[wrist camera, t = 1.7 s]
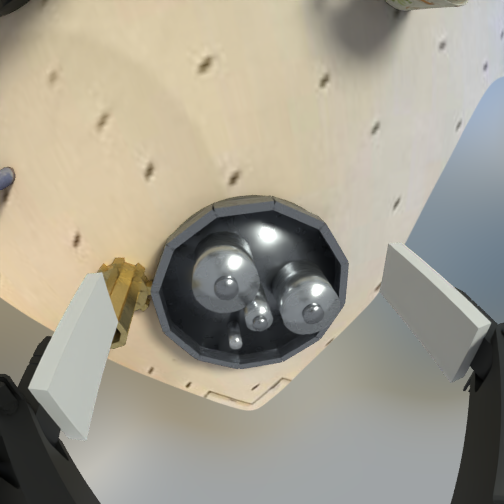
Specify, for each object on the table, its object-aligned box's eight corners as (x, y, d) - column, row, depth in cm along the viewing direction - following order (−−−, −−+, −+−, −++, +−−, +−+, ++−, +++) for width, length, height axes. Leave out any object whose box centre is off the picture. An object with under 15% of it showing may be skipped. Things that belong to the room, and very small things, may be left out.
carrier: (138, 327, 40) (129, 368, 33) (196, 163, 32) (193, 179, 24) (286, 364, 47) (297, 402, 40) (368, 238, 39) (399, 267, 32)
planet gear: (93, 297, 37) (72, 345, 29) (103, 250, 34) (77, 293, 26) (145, 315, 39) (134, 366, 31) (159, 270, 37) (149, 318, 28)
